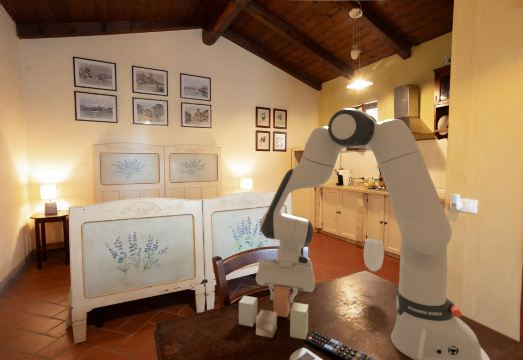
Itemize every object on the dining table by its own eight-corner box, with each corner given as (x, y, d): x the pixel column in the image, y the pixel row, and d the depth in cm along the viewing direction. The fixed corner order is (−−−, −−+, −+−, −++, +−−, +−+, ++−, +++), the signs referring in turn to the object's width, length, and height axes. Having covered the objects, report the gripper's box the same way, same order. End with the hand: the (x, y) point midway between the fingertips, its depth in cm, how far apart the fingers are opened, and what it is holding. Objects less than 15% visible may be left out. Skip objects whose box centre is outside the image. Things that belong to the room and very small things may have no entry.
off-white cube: (276, 328, 83) (276, 312, 83) (272, 338, 78) (272, 321, 78) (261, 325, 84) (261, 309, 84) (255, 334, 80) (255, 318, 79)
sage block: (308, 330, 82) (308, 304, 81) (305, 339, 77) (306, 312, 77) (293, 327, 83) (293, 302, 83) (290, 336, 79) (290, 309, 78)
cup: (384, 293, 105) (386, 240, 104) (379, 300, 100) (381, 244, 98) (365, 287, 110) (367, 237, 108) (359, 294, 104) (361, 241, 103)
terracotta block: (289, 310, 92) (289, 287, 91) (286, 317, 87) (286, 293, 87) (276, 308, 93) (276, 285, 92) (273, 315, 89) (273, 291, 88)
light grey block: (257, 318, 88) (257, 297, 87) (252, 326, 83) (252, 304, 83) (244, 316, 89) (244, 295, 89) (238, 324, 85) (238, 302, 84)
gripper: (258, 254, 99) (249, 292, 90) (315, 260, 93) (311, 302, 84) (262, 262, 103) (253, 299, 95) (316, 268, 97) (313, 308, 88)
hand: (281, 300), depth 89 cm, fingers closed on terracotta block, 4 cm apart
